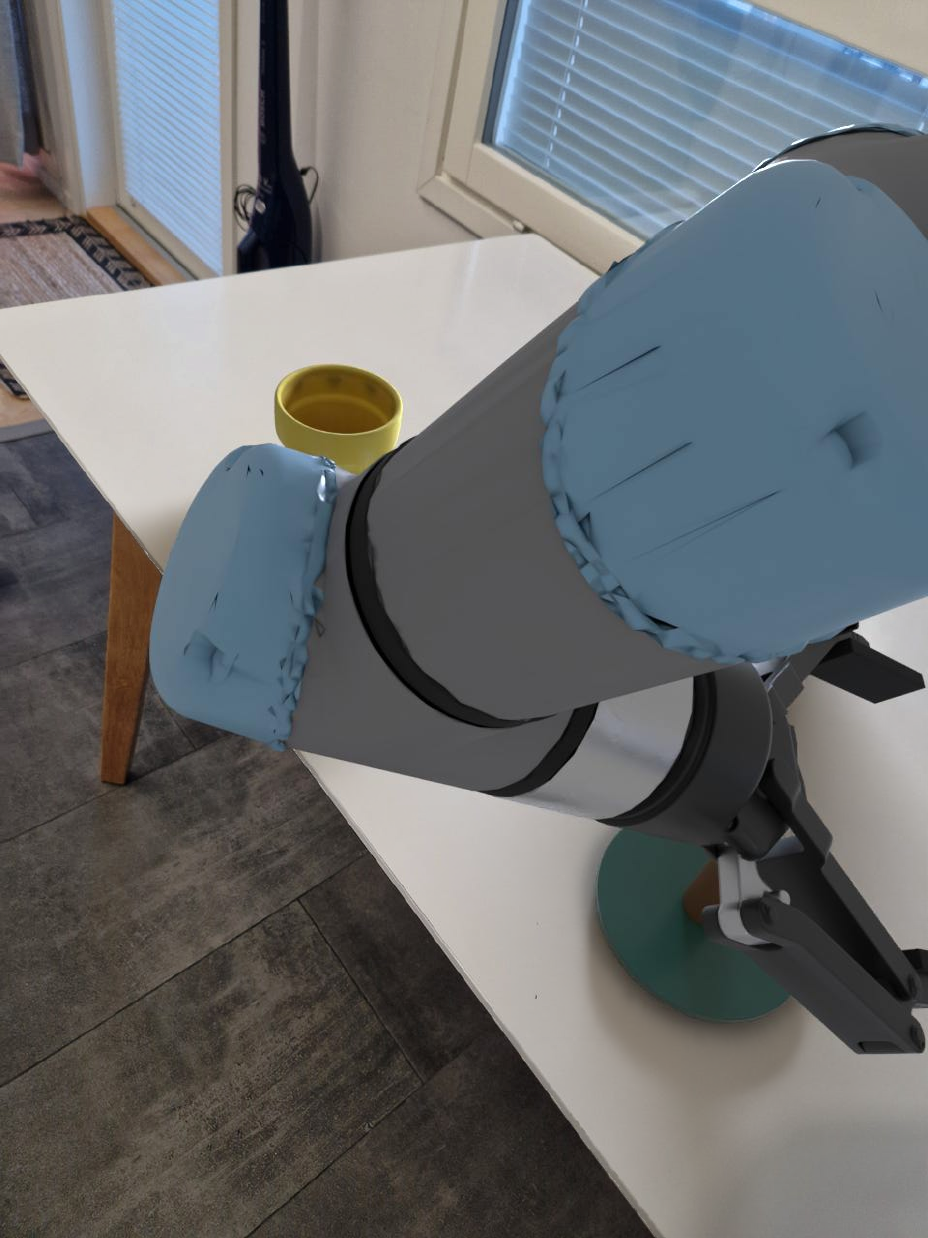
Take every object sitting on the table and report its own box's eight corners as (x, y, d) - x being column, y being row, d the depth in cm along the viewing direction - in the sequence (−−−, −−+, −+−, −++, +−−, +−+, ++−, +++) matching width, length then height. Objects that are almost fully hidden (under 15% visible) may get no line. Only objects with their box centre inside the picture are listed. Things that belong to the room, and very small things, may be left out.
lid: (843, 942, 55) (926, 871, 48) (708, 1077, 48) (782, 1017, 41) (687, 786, 62) (740, 703, 55) (548, 886, 55) (589, 805, 48)
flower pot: (348, 546, 73) (356, 451, 66) (249, 494, 75) (247, 398, 68) (412, 487, 80) (426, 395, 73) (320, 441, 82) (325, 348, 75)
